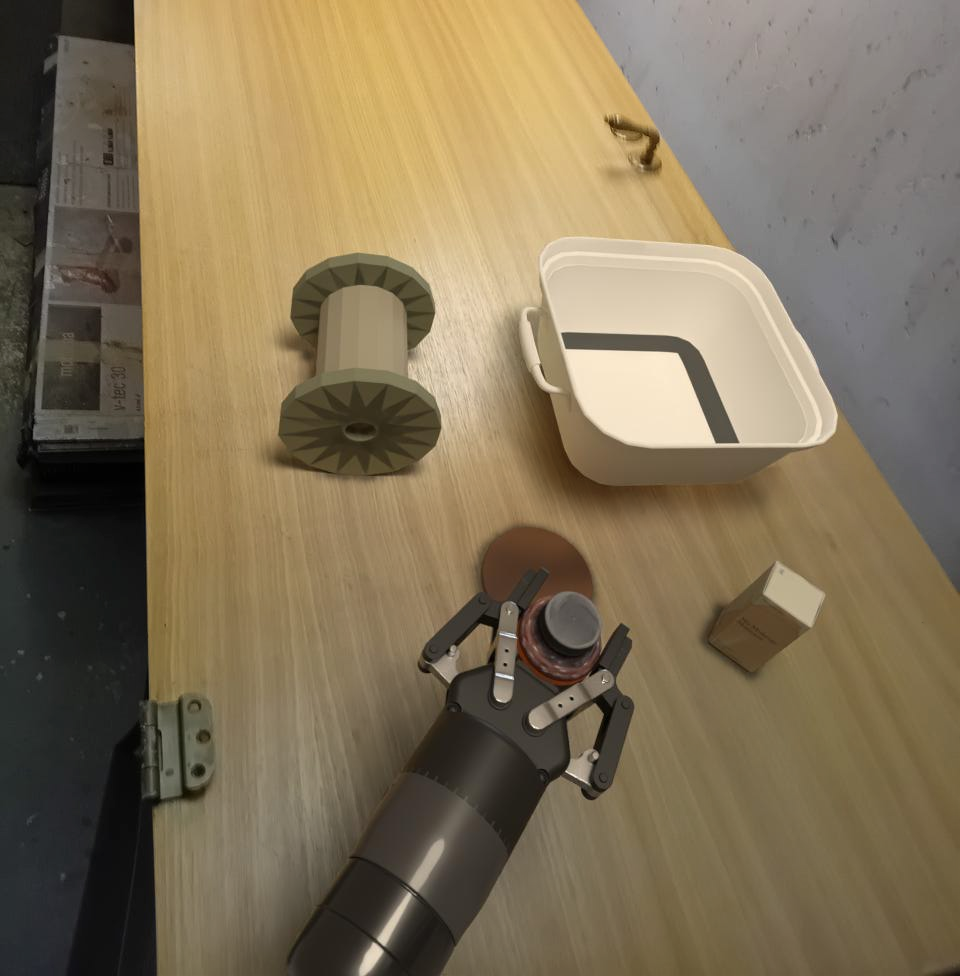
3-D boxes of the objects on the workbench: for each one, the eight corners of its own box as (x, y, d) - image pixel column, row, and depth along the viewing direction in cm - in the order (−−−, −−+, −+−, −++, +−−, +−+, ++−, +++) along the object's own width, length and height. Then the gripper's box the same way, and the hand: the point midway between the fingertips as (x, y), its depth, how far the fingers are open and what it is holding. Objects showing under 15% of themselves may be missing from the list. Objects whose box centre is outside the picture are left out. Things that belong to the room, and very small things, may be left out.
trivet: (613, 596, 83) (615, 593, 82) (532, 659, 77) (534, 657, 76) (540, 511, 87) (541, 508, 87) (458, 565, 81) (459, 562, 81)
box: (706, 641, 82) (759, 590, 74) (722, 609, 85) (775, 556, 77) (754, 676, 80) (813, 628, 73) (768, 642, 83) (827, 592, 75)
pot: (518, 530, 85) (561, 448, 75) (474, 320, 104) (504, 230, 93) (807, 520, 95) (882, 445, 84) (720, 329, 113) (773, 248, 102)
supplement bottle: (477, 701, 62) (517, 637, 54) (503, 630, 66) (544, 561, 58) (552, 737, 61) (604, 678, 53) (574, 664, 66) (625, 598, 57)
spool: (424, 479, 87) (454, 389, 76) (274, 470, 83) (284, 374, 73) (420, 356, 98) (445, 263, 87) (287, 344, 94) (297, 245, 84)
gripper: (576, 897, 43) (694, 642, 54) (354, 720, 46) (509, 514, 58) (536, 923, 48) (651, 685, 60) (340, 762, 52) (483, 566, 63)
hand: (581, 602), depth 59 cm, fingers closed on supplement bottle, 6 cm apart
